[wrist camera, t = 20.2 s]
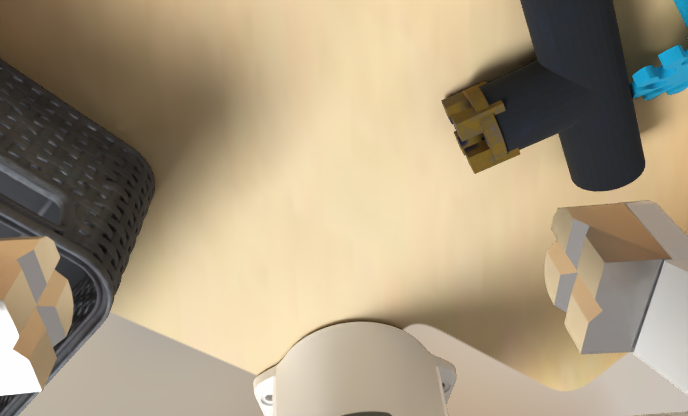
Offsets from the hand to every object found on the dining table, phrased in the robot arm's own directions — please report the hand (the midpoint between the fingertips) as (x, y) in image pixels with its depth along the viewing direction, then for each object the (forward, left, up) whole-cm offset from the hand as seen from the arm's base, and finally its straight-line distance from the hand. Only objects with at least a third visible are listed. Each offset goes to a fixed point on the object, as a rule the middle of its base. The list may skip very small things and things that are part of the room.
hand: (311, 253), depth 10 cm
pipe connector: (-10, -15, -32) cm, 37 cm away
